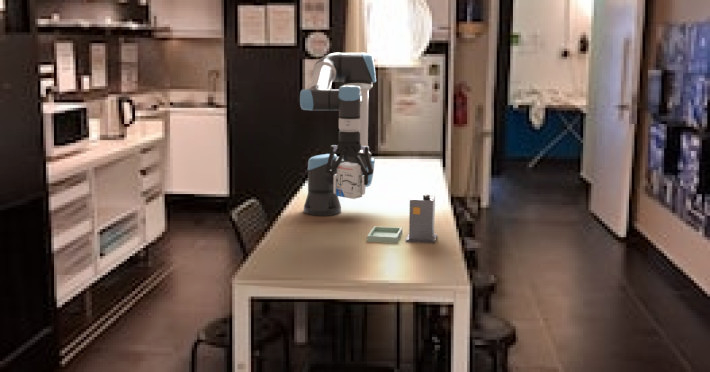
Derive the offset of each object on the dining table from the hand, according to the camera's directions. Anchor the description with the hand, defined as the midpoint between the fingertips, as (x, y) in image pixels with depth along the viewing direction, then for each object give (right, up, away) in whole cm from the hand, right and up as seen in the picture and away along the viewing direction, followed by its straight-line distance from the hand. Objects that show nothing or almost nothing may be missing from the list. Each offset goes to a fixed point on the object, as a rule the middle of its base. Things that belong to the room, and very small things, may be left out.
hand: (349, 193), depth 277 cm
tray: (+13, -16, 0) cm, 20 cm away
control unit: (+25, -16, -2) cm, 30 cm away
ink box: (0, -1, 0) cm, 1 cm away
